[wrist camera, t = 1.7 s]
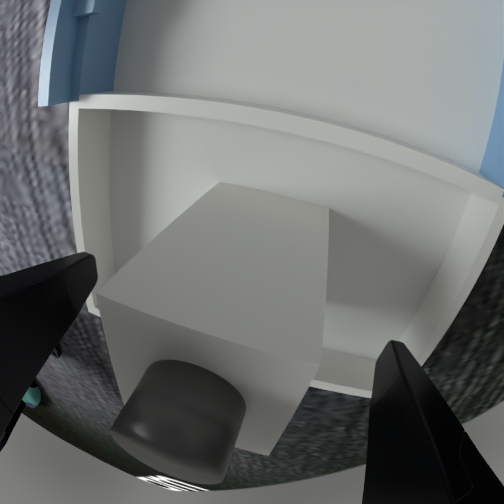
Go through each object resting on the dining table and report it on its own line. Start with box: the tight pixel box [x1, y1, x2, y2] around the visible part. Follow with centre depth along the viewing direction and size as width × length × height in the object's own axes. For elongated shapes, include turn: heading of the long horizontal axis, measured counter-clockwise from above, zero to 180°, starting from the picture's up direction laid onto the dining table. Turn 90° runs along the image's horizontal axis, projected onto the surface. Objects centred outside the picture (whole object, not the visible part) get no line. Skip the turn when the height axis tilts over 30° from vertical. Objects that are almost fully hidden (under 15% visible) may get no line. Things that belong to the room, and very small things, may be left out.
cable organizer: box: [38, 0, 504, 398], centre depth 8 cm, size 20×16×4 cm
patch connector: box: [96, 182, 329, 484], centre depth 8 cm, size 4×4×9 cm
